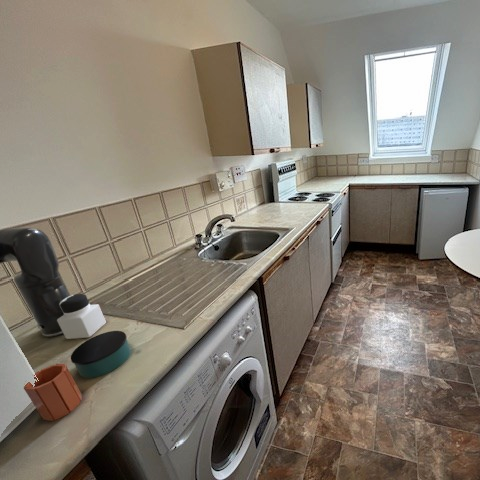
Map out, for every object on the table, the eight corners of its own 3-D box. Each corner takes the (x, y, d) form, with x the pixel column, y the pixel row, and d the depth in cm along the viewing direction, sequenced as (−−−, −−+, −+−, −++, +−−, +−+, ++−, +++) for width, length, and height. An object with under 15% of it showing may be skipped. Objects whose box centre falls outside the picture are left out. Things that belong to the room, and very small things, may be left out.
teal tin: (79, 359, 71) (71, 345, 69) (129, 338, 77) (123, 324, 76) (77, 387, 62) (69, 371, 61) (134, 361, 69) (128, 346, 67)
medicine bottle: (107, 322, 86) (93, 290, 81) (89, 337, 79) (73, 303, 75) (84, 324, 86) (70, 292, 81) (65, 339, 79) (48, 305, 75)
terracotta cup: (45, 405, 58) (27, 375, 55) (82, 388, 62) (66, 359, 59) (42, 426, 54) (21, 395, 51) (81, 407, 57) (64, 376, 54)
